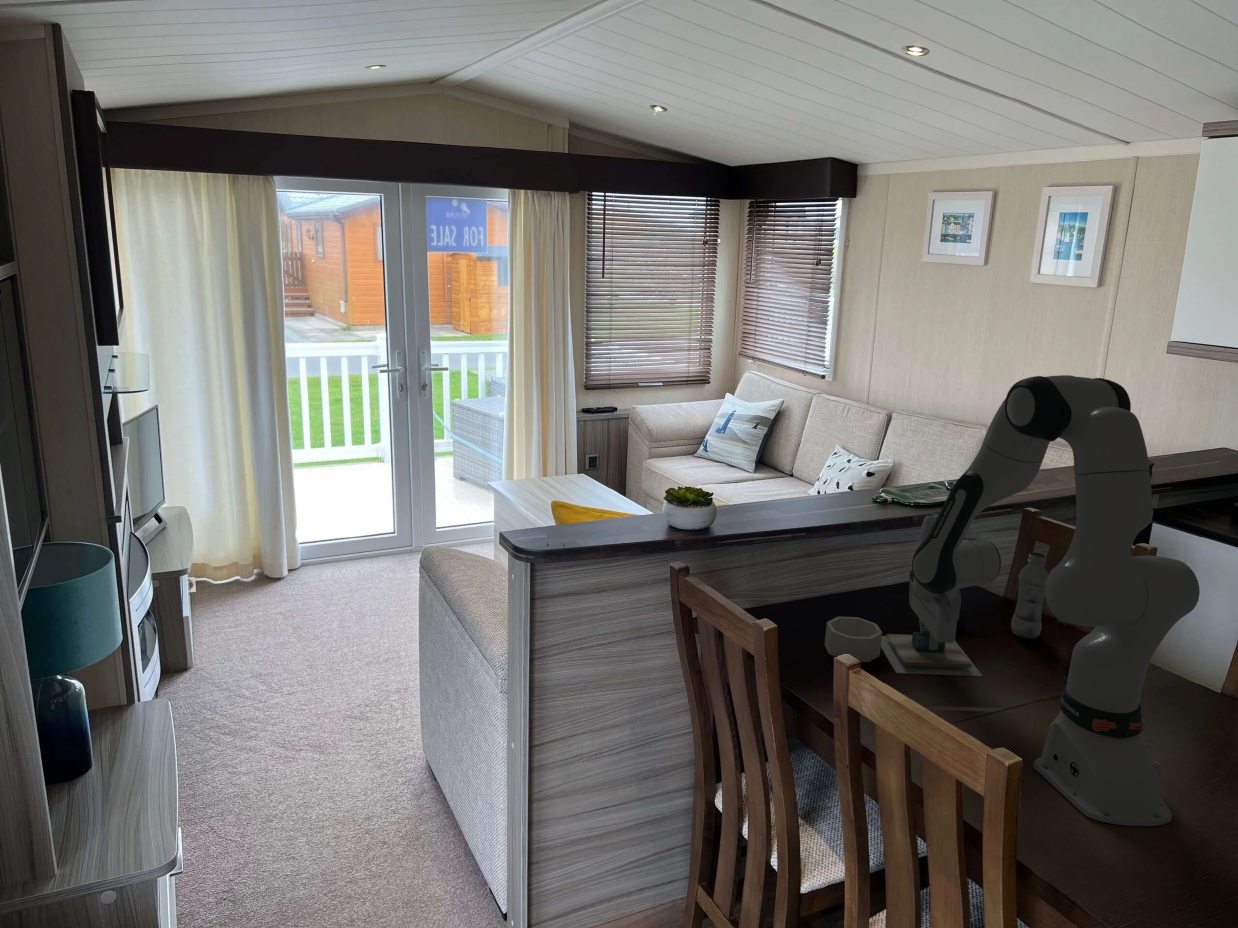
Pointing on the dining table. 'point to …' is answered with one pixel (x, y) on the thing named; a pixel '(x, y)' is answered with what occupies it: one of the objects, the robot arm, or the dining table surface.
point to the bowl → (853, 638)
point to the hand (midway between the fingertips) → (928, 643)
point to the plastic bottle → (1030, 597)
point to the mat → (901, 668)
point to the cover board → (926, 651)
